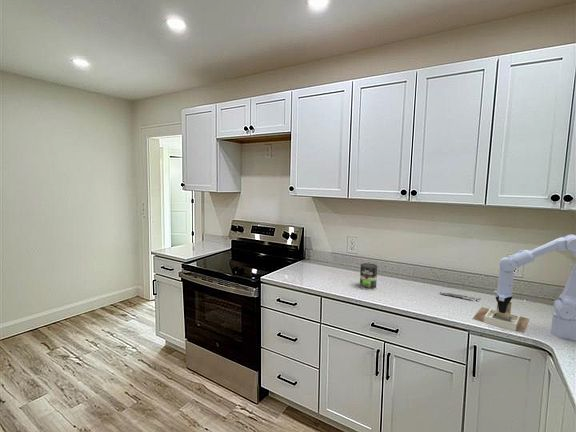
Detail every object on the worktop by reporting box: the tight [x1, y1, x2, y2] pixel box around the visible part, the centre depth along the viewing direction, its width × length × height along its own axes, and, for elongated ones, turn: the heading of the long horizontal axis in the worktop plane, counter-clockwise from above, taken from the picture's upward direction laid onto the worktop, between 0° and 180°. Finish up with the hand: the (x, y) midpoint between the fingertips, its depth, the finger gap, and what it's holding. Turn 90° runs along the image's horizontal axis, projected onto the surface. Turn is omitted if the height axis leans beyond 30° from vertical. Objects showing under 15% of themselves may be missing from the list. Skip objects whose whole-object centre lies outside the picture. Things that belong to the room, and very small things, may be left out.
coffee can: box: [359, 262, 378, 291], centre depth 193 cm, size 10×10×14 cm
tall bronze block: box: [496, 301, 512, 319], centre depth 144 cm, size 2×5×8 cm, turn 47°
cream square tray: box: [483, 308, 521, 332], centre depth 145 cm, size 12×12×3 cm
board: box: [471, 306, 530, 334], centre depth 149 cm, size 20×20×1 cm
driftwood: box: [439, 291, 482, 303], centre depth 179 cm, size 21×7×2 cm, turn 55°
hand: (502, 311), depth 145 cm, fingers closed on tall bronze block, 2 cm apart
